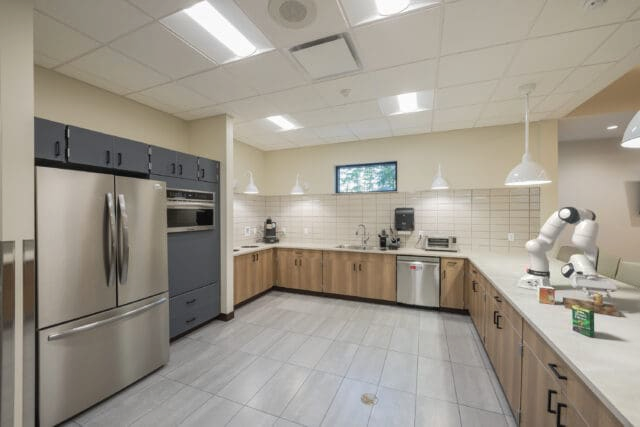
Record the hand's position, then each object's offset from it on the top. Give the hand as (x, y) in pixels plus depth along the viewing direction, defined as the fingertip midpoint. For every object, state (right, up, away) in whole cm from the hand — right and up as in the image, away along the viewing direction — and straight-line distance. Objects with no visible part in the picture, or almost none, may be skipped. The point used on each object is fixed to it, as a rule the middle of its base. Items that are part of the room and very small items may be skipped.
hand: (599, 296), depth 151 cm
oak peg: (+1, -9, +1) cm, 9 cm away
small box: (-19, -10, +15) cm, 26 cm away
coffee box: (-37, -10, -26) cm, 47 cm away
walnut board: (-2, -9, +4) cm, 10 cm away
